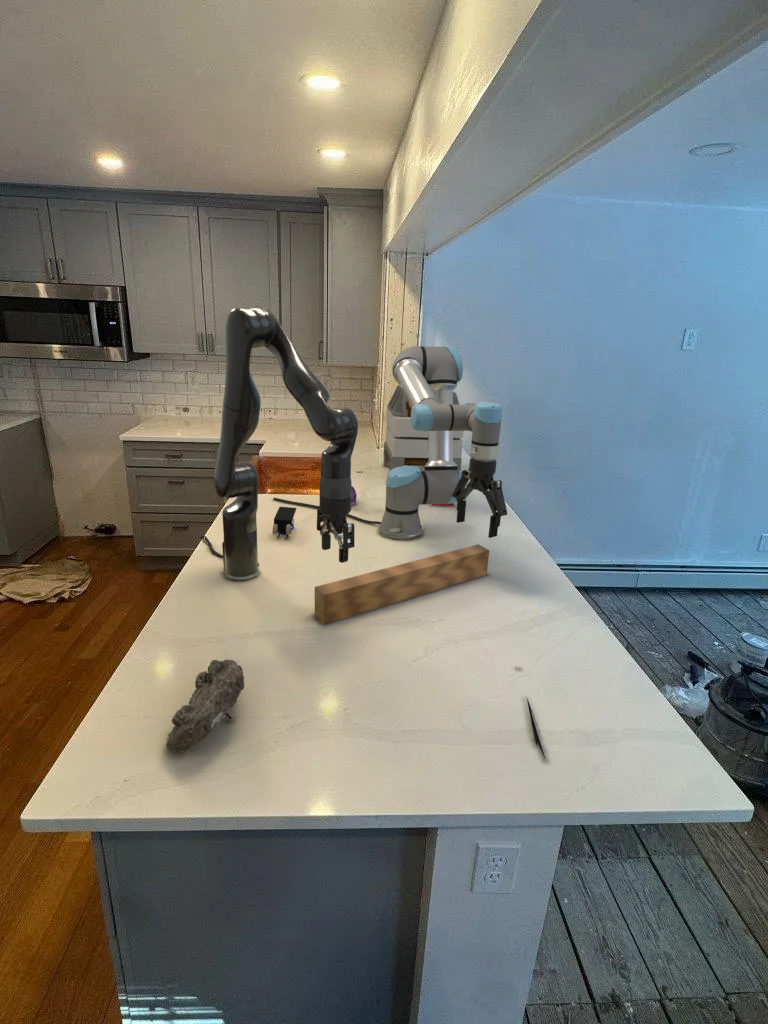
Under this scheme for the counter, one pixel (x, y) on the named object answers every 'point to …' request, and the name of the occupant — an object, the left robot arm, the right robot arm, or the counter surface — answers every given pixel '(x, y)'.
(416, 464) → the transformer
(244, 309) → the left robot arm
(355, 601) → the beam
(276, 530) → the figurine character
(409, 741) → the counter surface
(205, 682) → the fossil
